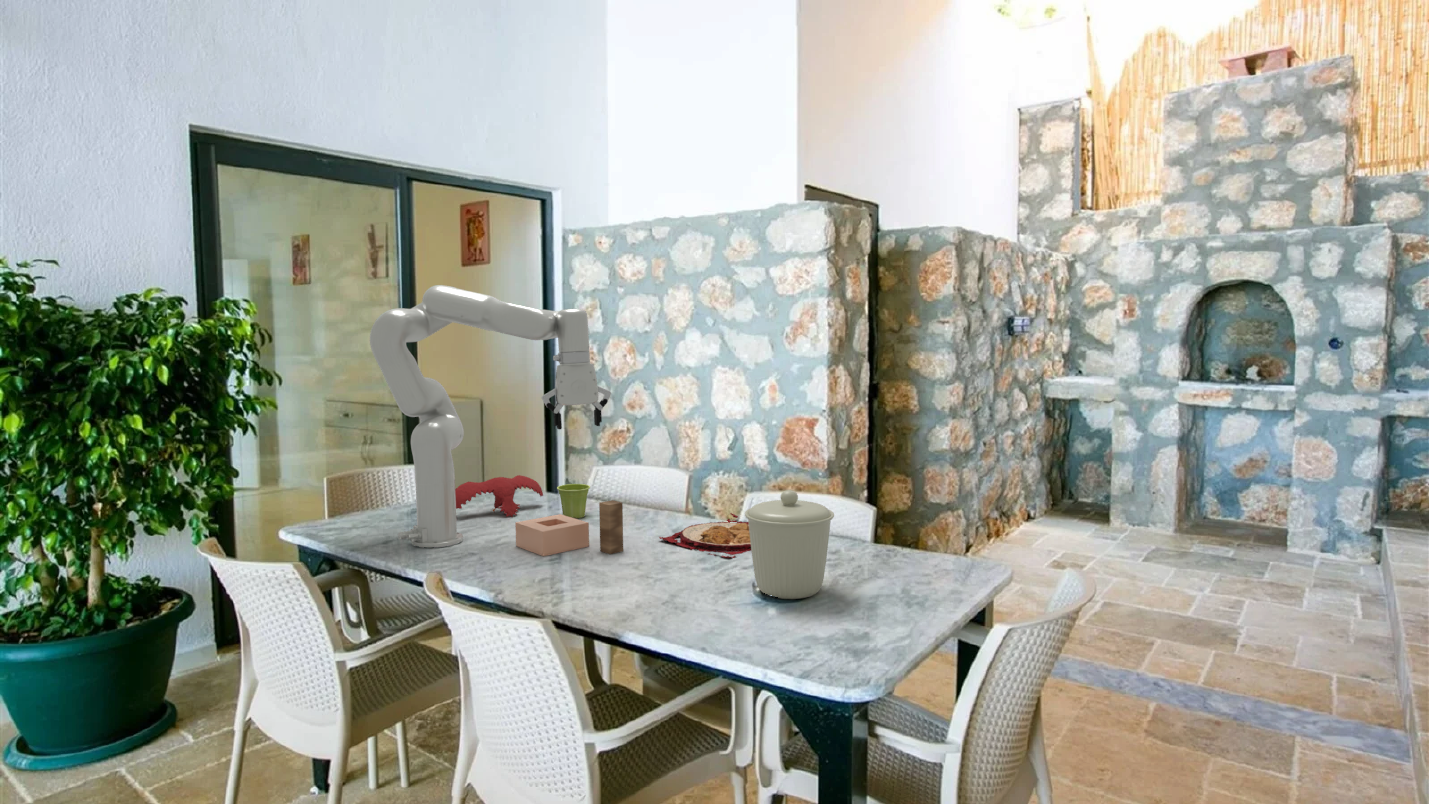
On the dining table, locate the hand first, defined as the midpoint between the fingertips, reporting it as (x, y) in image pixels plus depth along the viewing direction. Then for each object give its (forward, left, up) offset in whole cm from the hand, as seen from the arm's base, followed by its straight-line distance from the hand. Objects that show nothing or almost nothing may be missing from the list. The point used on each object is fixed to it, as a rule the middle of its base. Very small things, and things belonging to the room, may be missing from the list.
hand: (578, 427), depth 211 cm
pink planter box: (-8, +1, -29) cm, 30 cm away
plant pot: (+14, +25, -30) cm, 42 cm away
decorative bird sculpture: (+1, +43, -30) cm, 52 cm away
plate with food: (+28, -25, -30) cm, 48 cm away
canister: (+8, -64, -30) cm, 71 cm away
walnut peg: (0, -13, -29) cm, 32 cm away
